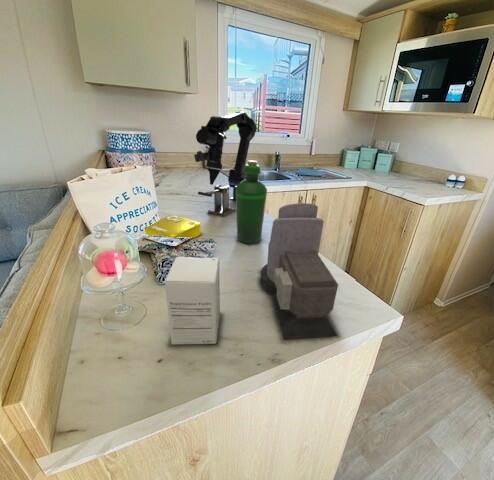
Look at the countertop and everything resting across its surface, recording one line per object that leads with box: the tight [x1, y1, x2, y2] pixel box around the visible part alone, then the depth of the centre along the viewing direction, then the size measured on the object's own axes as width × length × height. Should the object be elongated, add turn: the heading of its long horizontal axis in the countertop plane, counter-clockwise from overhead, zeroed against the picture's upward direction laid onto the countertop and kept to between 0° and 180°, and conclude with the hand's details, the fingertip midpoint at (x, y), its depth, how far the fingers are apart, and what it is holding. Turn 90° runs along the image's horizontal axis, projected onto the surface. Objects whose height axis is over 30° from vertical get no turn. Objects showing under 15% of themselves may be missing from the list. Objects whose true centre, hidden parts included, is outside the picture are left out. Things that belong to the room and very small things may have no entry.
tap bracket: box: [207, 184, 236, 217], centre depth 123 cm, size 10×8×12 cm
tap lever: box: [197, 186, 224, 198], centre depth 116 cm, size 15×6×2 cm, turn 159°
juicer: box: [260, 202, 339, 340], centre depth 66 cm, size 30×16×24 cm, turn 10°
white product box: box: [164, 256, 221, 345], centre depth 55 cm, size 9×9×15 cm
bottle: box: [235, 159, 268, 245], centre depth 95 cm, size 11×11×28 cm
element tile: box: [144, 214, 202, 239], centre depth 97 cm, size 15×15×5 cm
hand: (211, 184), depth 121 cm, fingers closed
